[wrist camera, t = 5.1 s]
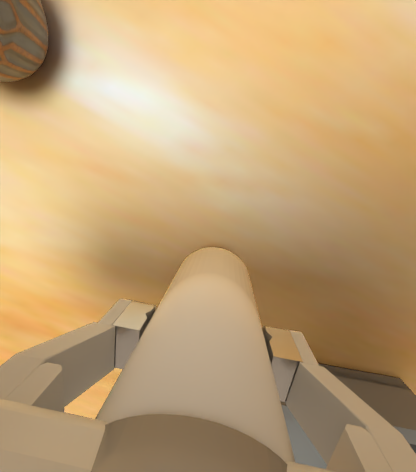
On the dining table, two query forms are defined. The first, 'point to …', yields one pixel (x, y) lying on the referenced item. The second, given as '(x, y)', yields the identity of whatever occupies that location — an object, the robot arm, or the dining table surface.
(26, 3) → the vase
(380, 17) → the dining table surface
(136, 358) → the shaker
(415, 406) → the tray
